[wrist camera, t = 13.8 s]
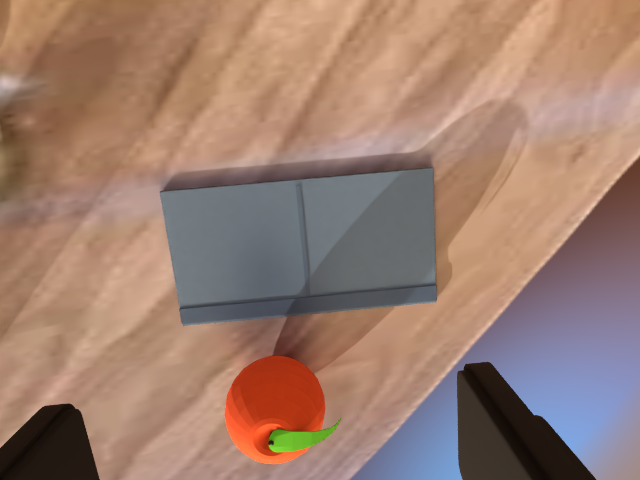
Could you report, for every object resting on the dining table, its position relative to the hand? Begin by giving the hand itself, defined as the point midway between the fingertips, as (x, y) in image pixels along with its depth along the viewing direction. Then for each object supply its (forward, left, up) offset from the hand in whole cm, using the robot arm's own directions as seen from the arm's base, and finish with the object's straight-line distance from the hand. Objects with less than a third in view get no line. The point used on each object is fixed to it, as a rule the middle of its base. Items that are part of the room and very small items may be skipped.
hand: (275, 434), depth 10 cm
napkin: (-1, 0, -20) cm, 20 cm away
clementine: (+2, +11, -20) cm, 23 cm away
